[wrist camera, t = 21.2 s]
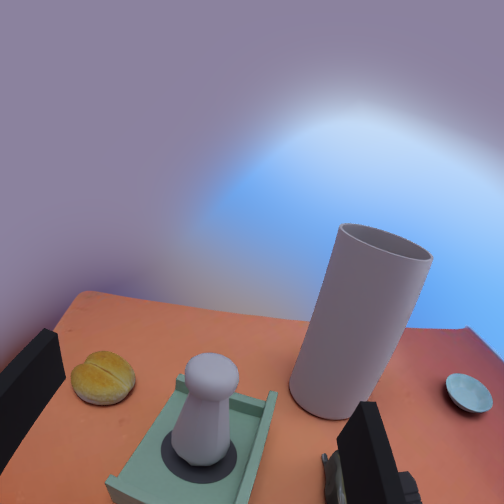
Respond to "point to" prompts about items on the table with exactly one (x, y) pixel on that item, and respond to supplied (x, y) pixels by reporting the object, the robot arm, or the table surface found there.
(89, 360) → the bread roll
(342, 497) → the black stapler
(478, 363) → the table surface
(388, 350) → the cylinder vase
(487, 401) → the saucer
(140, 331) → the table surface
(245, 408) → the green tray with hole
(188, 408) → the salt shaker
